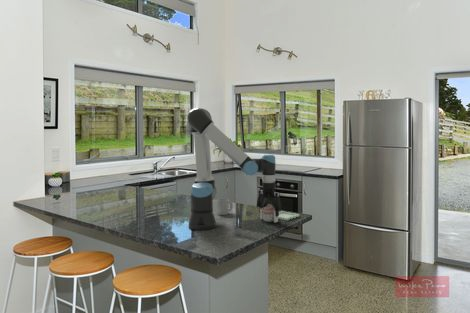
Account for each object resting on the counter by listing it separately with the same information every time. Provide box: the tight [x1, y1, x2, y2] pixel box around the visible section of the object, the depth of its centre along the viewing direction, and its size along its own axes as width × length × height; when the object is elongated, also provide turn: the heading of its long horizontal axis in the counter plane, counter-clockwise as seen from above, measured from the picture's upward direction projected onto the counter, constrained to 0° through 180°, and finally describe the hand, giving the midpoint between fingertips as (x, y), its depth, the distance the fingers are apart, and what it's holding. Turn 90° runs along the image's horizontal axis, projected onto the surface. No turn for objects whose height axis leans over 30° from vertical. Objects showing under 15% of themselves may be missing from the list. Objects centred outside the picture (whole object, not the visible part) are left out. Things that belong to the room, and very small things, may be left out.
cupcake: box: [261, 203, 275, 223], centre depth 224 cm, size 9×9×10 cm
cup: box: [216, 198, 234, 216], centre depth 244 cm, size 7×10×9 cm
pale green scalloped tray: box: [278, 210, 300, 222], centre depth 234 cm, size 13×14×2 cm
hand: (269, 220), depth 225 cm, fingers closed on cupcake, 9 cm apart
